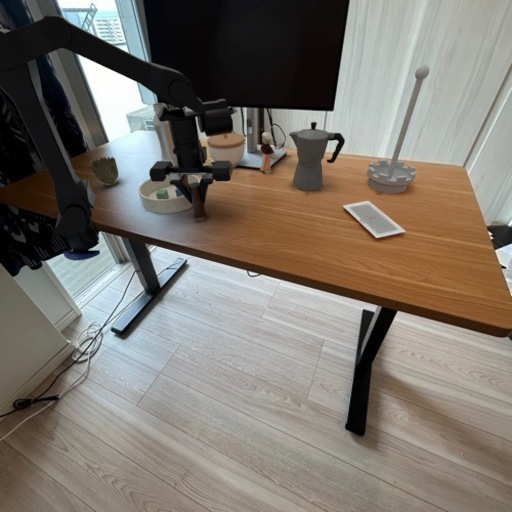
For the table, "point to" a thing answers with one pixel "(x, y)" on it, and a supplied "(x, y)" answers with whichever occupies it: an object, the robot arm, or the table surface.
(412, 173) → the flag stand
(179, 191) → the blue block
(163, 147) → the plastic bottle
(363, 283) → the table surface
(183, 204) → the bowl
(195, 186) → the brown cylinder
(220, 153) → the lidded bowl
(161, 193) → the green block
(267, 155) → the grandmother figurine
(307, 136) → the coffeepot
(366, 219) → the touchpad
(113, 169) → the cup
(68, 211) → the robot arm
